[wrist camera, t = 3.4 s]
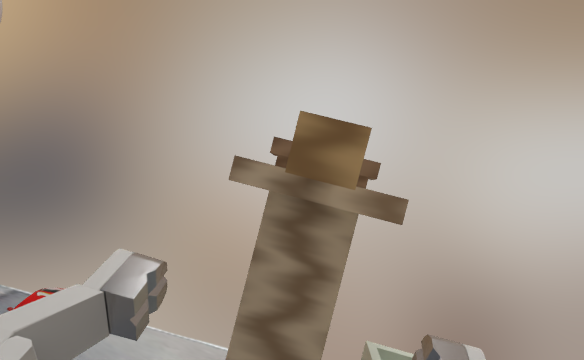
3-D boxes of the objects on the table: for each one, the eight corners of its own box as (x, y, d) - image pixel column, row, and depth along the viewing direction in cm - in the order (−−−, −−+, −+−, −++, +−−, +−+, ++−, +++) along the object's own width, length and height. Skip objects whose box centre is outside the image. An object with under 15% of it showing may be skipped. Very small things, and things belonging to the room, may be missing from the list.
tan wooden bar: (284, 172, 19) (300, 110, 19) (301, 170, 36) (310, 137, 36) (355, 190, 19) (371, 127, 19) (338, 179, 36) (347, 146, 36)
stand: (153, 470, 28) (243, 122, 28) (202, 384, 40) (265, 141, 39) (324, 527, 27) (417, 165, 26) (321, 420, 39) (386, 172, 38)
